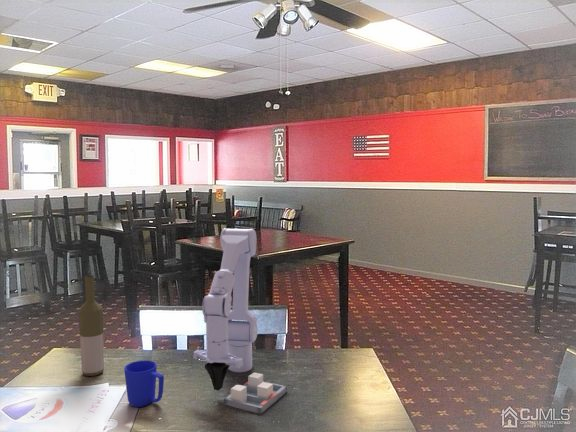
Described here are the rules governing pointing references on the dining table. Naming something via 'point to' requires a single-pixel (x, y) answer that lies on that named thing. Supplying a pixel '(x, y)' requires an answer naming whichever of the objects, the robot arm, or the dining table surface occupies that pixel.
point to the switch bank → (257, 399)
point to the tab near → (239, 393)
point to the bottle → (91, 332)
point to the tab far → (255, 379)
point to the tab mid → (264, 390)
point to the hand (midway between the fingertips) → (218, 388)
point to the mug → (142, 383)
